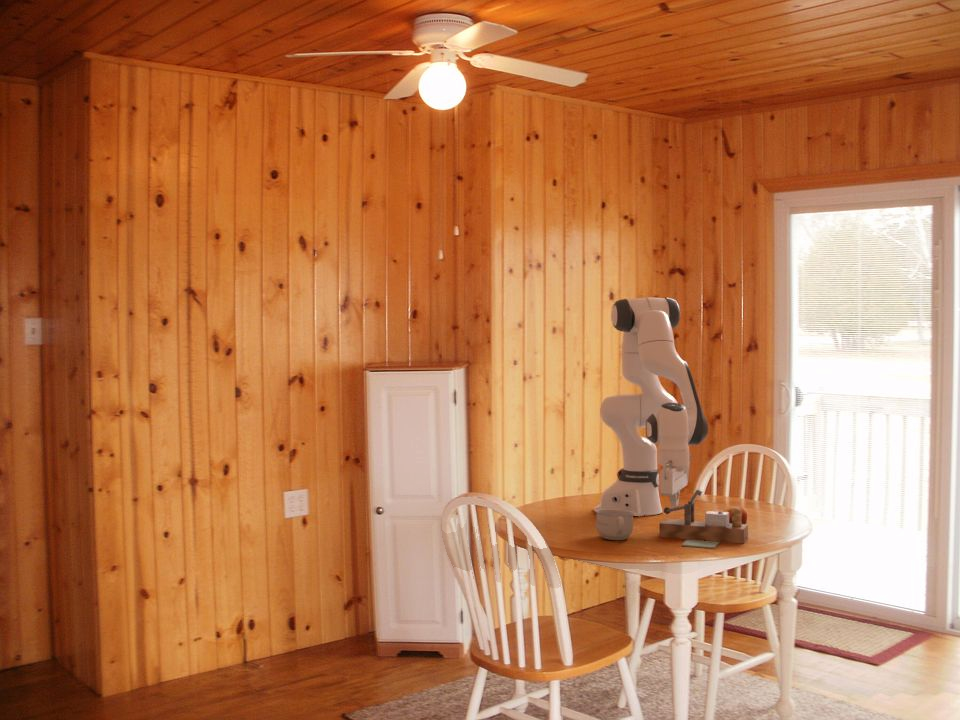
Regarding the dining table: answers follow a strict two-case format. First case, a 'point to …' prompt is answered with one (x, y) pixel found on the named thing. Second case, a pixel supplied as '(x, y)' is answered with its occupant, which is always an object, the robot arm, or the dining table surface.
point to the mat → (700, 543)
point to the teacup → (614, 523)
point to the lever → (668, 510)
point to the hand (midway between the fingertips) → (674, 506)
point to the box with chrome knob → (717, 518)
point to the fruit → (743, 517)
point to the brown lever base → (704, 528)
